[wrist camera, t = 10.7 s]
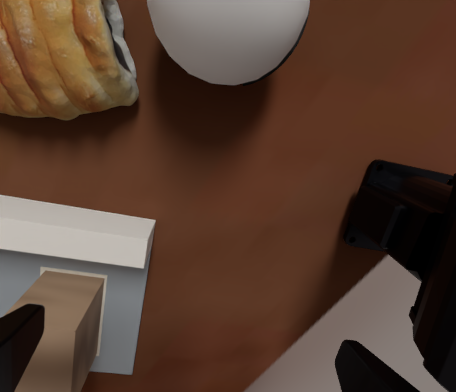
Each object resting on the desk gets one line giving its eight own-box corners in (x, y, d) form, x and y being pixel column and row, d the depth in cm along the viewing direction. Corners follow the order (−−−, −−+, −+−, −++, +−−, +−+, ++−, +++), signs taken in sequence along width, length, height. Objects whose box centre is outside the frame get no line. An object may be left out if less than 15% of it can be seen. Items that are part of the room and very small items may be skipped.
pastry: (2, 137, 18) (-49, 146, 14) (-56, 15, 16) (-134, -11, 12) (150, 101, 18) (136, 101, 14) (112, -26, 16) (84, -64, 12)
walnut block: (96, 353, 23) (68, 419, 18) (43, 348, 22) (-1, 415, 18) (104, 278, 21) (75, 330, 16) (45, 270, 20) (-3, 322, 15)
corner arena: (155, 220, 20) (147, 239, 17) (132, 371, 24) (123, 407, 21) (-70, 183, 18) (-120, 199, 15) (-53, 355, 22) (-91, 392, 19)
